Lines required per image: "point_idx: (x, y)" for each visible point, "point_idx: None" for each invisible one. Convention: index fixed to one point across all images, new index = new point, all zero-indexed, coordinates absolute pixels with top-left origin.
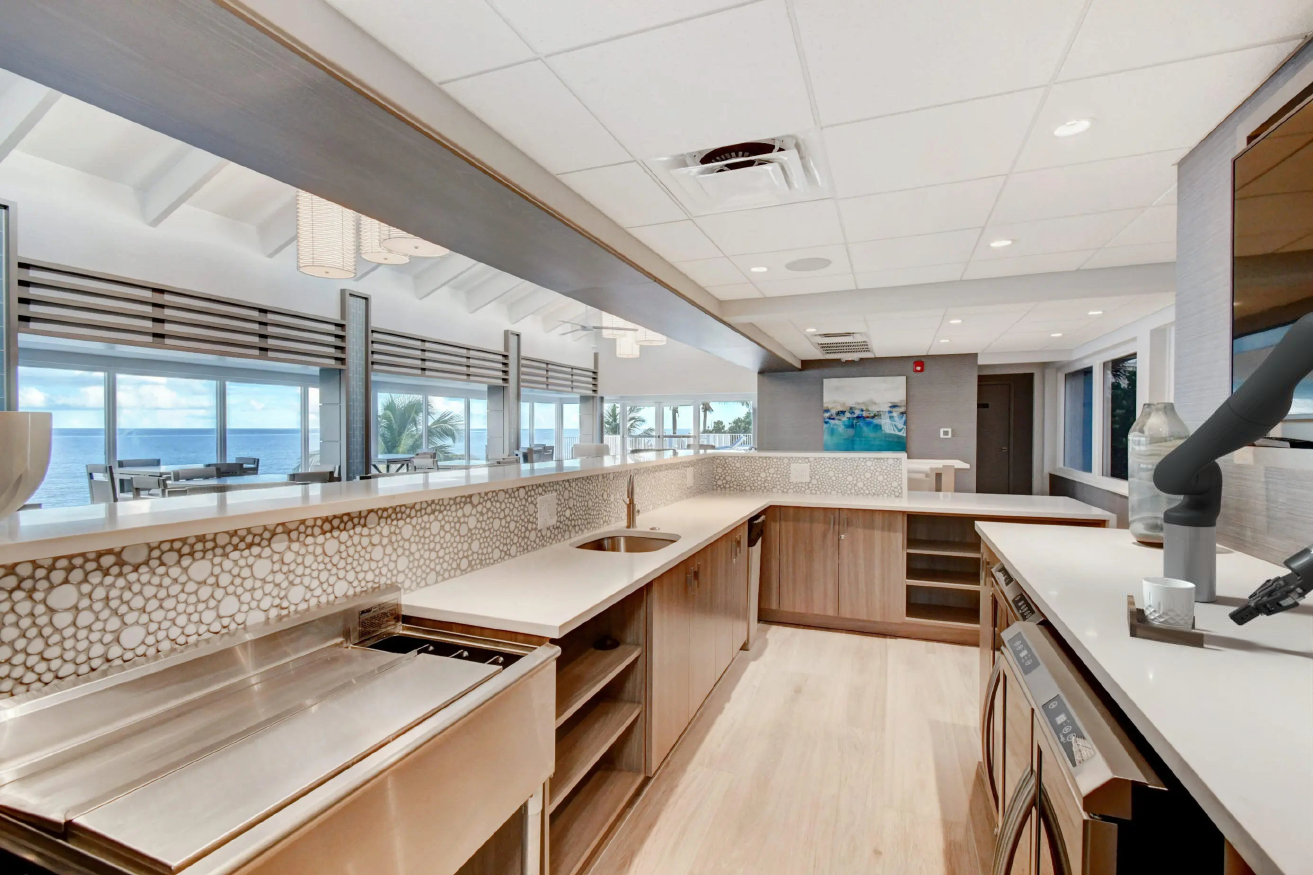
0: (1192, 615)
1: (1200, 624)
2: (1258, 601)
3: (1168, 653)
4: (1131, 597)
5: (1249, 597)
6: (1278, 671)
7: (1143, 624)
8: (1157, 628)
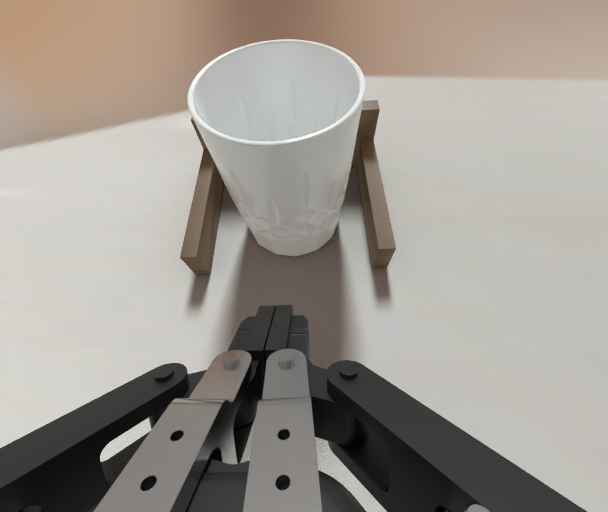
0: (269, 223)
1: (445, 282)
2: (167, 385)
3: (121, 216)
4: None
5: (339, 365)
6: (51, 417)
7: (210, 158)
8: (197, 180)
